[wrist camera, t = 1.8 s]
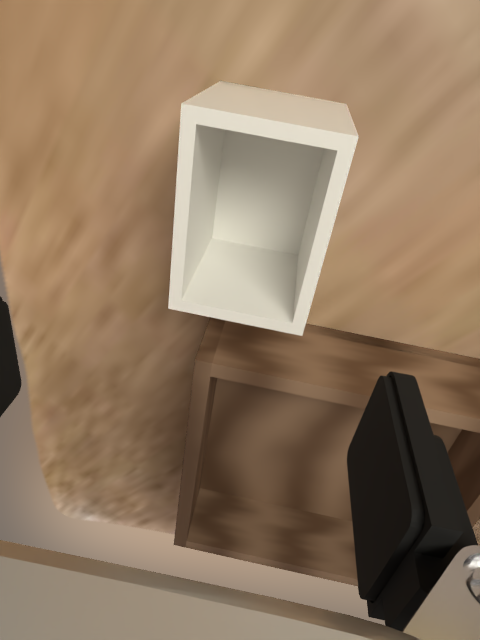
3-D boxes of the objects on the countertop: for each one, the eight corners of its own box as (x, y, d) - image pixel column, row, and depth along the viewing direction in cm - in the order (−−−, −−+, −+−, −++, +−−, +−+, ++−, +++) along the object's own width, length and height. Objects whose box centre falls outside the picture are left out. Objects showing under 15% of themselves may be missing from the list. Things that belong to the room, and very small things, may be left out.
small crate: (346, 103, 22) (358, 136, 16) (305, 261, 28) (302, 336, 21) (220, 80, 23) (181, 103, 16) (203, 241, 28) (168, 308, 21)
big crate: (508, 364, 30) (547, 433, 25) (403, 529, 41) (414, 598, 36) (214, 305, 30) (195, 359, 25) (190, 482, 42) (173, 544, 37)
